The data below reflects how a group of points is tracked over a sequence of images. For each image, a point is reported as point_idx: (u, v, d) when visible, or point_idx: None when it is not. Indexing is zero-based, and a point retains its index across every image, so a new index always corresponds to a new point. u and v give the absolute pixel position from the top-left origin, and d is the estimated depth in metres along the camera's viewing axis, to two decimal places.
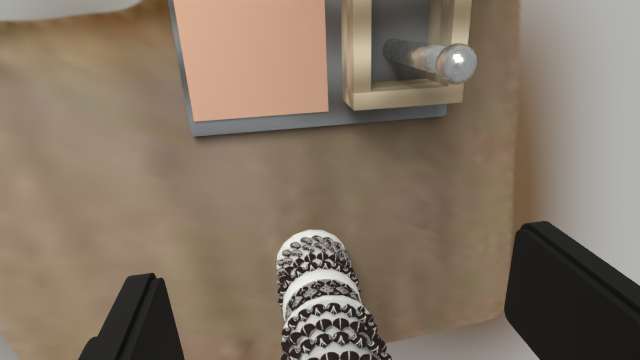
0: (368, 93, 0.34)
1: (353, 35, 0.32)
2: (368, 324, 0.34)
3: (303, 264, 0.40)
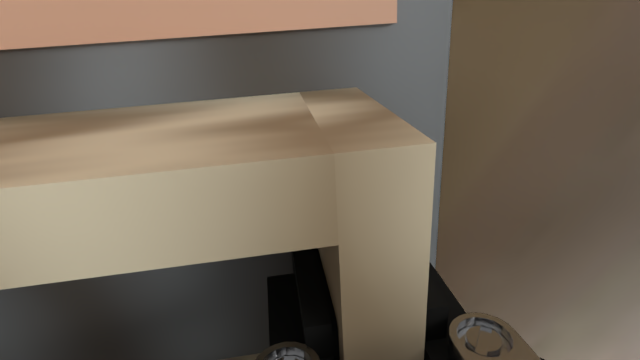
0: None
1: None
2: None
3: None
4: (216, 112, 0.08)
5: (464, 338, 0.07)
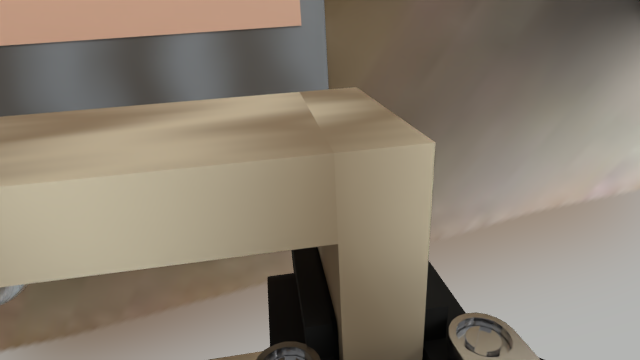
0: None
1: None
2: None
3: None
4: (217, 111, 0.08)
5: (463, 338, 0.07)
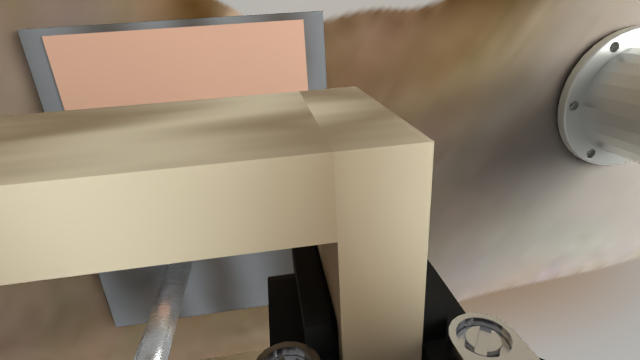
0: None
1: None
2: None
3: None
4: (217, 111, 0.09)
5: (463, 338, 0.07)
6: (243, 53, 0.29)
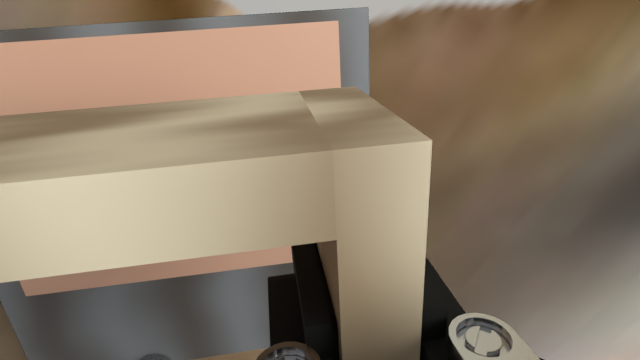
0: None
1: None
2: None
3: None
4: (217, 110, 0.09)
5: (464, 338, 0.07)
6: (244, 73, 0.19)
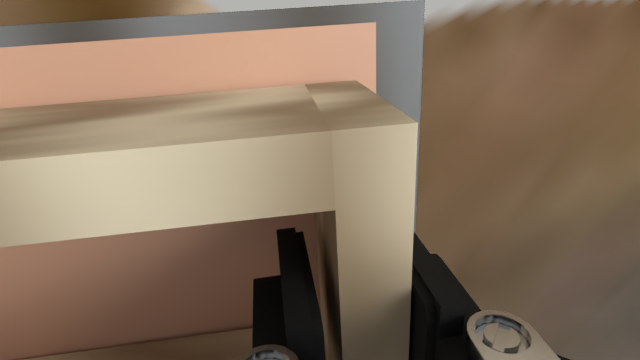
0: None
1: None
2: None
3: None
4: (231, 100, 0.10)
5: (482, 334, 0.07)
6: None
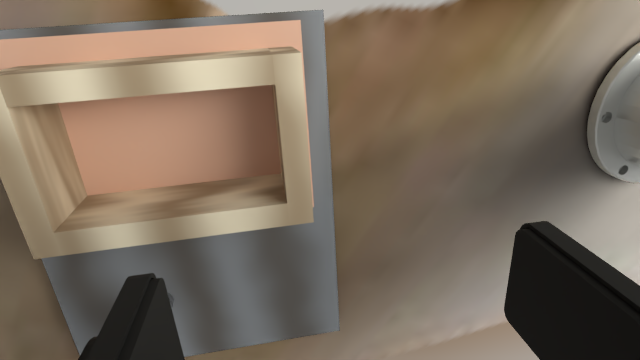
0: (3, 103, 0.19)
1: (101, 68, 0.19)
2: None
3: None
4: (236, 52, 0.23)
5: None
6: None
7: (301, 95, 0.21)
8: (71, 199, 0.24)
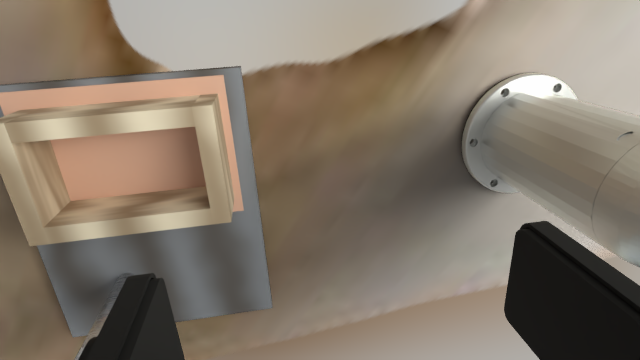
0: (8, 140, 0.28)
1: (74, 117, 0.29)
2: None
3: None
4: (173, 100, 0.32)
5: None
6: None
7: (214, 133, 0.30)
8: (57, 204, 0.34)
